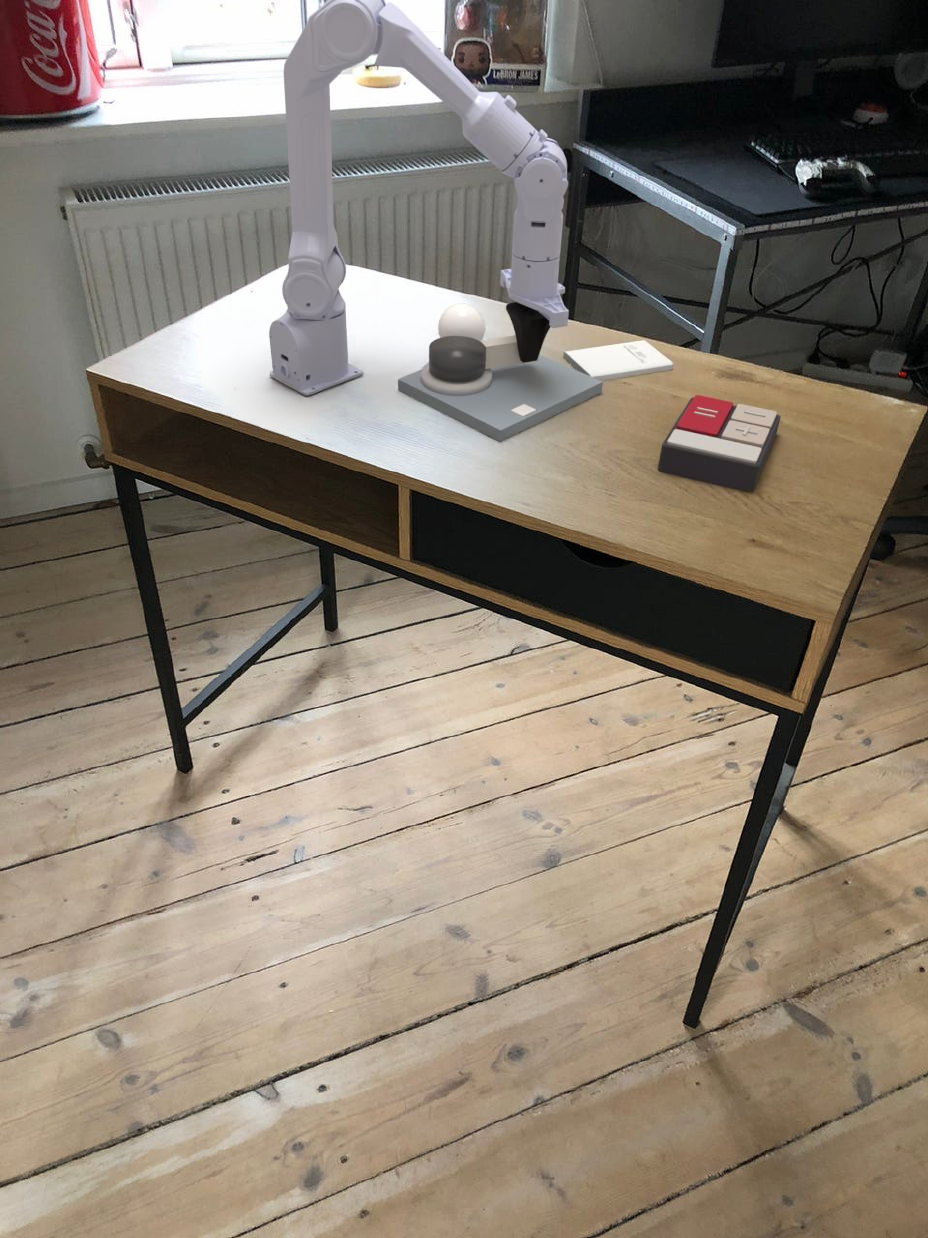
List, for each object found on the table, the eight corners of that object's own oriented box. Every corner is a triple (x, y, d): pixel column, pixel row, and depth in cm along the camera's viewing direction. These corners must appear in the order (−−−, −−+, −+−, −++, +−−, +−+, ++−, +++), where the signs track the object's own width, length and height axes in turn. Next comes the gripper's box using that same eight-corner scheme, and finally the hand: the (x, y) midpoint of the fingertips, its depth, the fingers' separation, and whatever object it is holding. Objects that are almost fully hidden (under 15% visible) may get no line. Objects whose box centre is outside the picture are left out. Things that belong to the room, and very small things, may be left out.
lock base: (499, 441, 121) (501, 422, 120) (398, 389, 131) (397, 371, 129) (601, 392, 132) (603, 374, 130) (500, 347, 142) (501, 330, 140)
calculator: (783, 408, 123) (760, 460, 111) (774, 441, 125) (752, 495, 114) (692, 390, 126) (662, 438, 115) (686, 422, 128) (656, 472, 117)
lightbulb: (455, 351, 147) (467, 365, 138) (421, 321, 145) (432, 334, 135) (484, 316, 146) (498, 328, 136) (451, 286, 144) (463, 296, 134)
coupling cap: (440, 385, 126) (441, 362, 124) (420, 362, 131) (420, 339, 129) (546, 368, 130) (548, 346, 129) (523, 346, 135) (525, 324, 134)
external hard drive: (562, 361, 140) (642, 348, 144) (590, 387, 134) (672, 373, 138) (563, 350, 139) (643, 337, 143) (591, 375, 133) (674, 362, 137)
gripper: (595, 269, 118) (583, 378, 127) (538, 230, 128) (531, 333, 137) (541, 277, 116) (533, 388, 124) (487, 236, 126) (483, 341, 134)
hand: (528, 360), depth 130 cm, fingers closed
